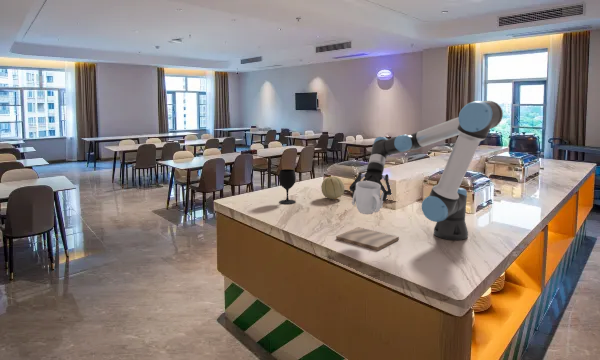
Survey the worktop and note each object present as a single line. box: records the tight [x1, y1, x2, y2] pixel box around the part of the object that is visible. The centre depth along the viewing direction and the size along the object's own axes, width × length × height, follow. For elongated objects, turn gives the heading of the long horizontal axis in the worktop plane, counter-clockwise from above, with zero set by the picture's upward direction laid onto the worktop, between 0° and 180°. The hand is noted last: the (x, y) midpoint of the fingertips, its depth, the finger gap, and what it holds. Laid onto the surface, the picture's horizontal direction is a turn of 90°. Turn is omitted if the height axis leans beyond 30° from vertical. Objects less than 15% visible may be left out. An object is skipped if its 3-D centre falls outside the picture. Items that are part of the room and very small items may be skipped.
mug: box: [355, 180, 381, 215], centre depth 189 cm, size 15×11×13 cm
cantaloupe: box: [320, 175, 345, 200], centre depth 268 cm, size 15×15×15 cm
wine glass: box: [278, 168, 297, 205], centre depth 260 cm, size 10×10×20 cm
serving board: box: [335, 227, 400, 251], centre depth 194 cm, size 22×18×2 cm
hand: (366, 205), depth 188 cm, fingers closed on mug, 12 cm apart
